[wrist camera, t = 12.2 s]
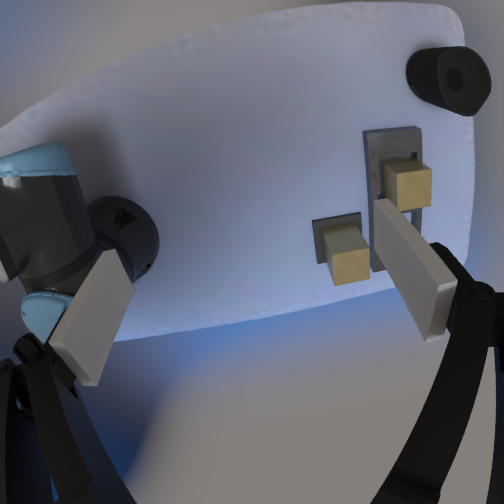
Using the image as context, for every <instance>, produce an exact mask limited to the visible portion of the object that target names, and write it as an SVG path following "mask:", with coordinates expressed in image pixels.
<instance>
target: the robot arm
mask: <svg viewBox="0 0 504 504" xmlns="http://www.w3.org/2000/svg"><path fill="white" fill-rule="evenodd" d="M76 175H77V172H76V171H75V170H74V168H73V165H72V162H71V160H70V157H69V154H68V151H67V149H66V147H65V146H64V145H63V144H62V143H60V142H56V141H52V142H47V143H44V144H40V145H37V146H34V147H30V148H27V149H24V150H21V151H18V152H15V153H12V154H9V155H7V156H4V157H1V158H0V282H3V283H8V282H10V281H11V280H12V279H14V278H15V277H16V276H18V277H19V279H20V280H21V282H22V284H23V286H24V288H25V290H26V292H27V295H26V296H25V297H24V299H23V300H22V305H21V315H22V318H23V321H24V323H25V324H26V326H27V327H28V329H29V330H30V331H31V332H32V333H28V334H25V335H23V336H22V337H21V338H19V339H18V340H17V342H16V343H15V345H14V347H13V352H14V354H15V355H16V356H17V357H18V359H19V360H20V361H21V362H22V364H19V365H16V364H15V363H14V362H13V361H12V360H11V359H10V358H7V359H4V360H3V361H1V362H0V504H137V503H136V502H135V500H134V499H133V497H132V495H131V494H130V492H129V490H128V489H127V487H126V486H125V484H124V482H123V480H122V479H121V477H120V475H119V474H118V472H117V470H116V468H115V466H114V465H113V463H112V461H111V459H110V457H109V455H108V453H107V451H106V449H105V447H104V446H103V444H102V442H101V440H100V437H99V436H98V434H97V431H96V429H95V427H94V425H93V423H92V420H91V419H90V416H89V414H88V412H87V409H86V407H85V405H84V402H83V400H82V397H81V395H80V393H79V390H78V388H77V387H76V385H74V381H75V379H76V378H77V379H78V380H79V381H80V382H81V383H82V384H83V385H84V386H97V384H98V381H99V379H100V376H101V373H102V370H103V367H104V365H105V362H106V360H107V357H108V354H109V352H110V349H111V346H112V344H113V341H114V339H115V336H116V334H117V331H118V329H119V326H120V324H121V321H122V319H123V316H124V314H125V312H126V309H127V307H128V305H129V302H130V300H131V297H132V295H133V293H134V291H135V290H134V288H133V286H132V284H133V283H134V282H135V281H137V280H138V279H139V278H141V277H142V276H143V275H144V274H146V273H147V272H148V271H149V269H150V268H151V267H152V265H153V263H154V261H155V258H156V256H157V254H158V250H159V236H158V232H157V229H156V227H155V224H154V223H153V221H152V219H151V218H150V216H149V215H148V214H147V213H146V212H145V211H144V210H143V209H142V208H141V207H139V206H138V205H137V204H135V203H133V202H131V201H129V200H127V199H124V198H120V197H103V198H100V199H97V200H95V201H93V202H92V203H91V204H89V205H88V206H87V207H86V204H85V201H84V198H83V195H82V191H81V188H80V185H79V182H78V179H77V176H76ZM373 206H374V250H375V251H376V253H377V255H378V256H379V258H380V260H381V261H382V263H383V265H384V267H385V268H386V270H387V272H388V273H389V275H390V277H391V279H392V280H393V282H394V284H395V286H396V288H397V289H398V291H399V293H400V295H401V297H402V298H403V300H404V302H405V304H406V306H407V308H408V309H409V311H410V313H411V315H412V317H413V319H414V321H415V323H416V324H417V327H418V328H419V330H420V333H421V335H422V337H423V338H424V341H425V343H428V342H431V341H435V340H438V339H441V338H443V336H444V332H445V329H446V327H447V329H448V331H449V333H450V334H451V335H450V338H449V341H448V344H447V348H446V350H445V353H444V356H443V359H442V362H441V364H440V367H439V370H438V372H437V375H436V378H435V380H434V383H433V385H432V388H431V390H430V392H429V395H428V397H427V400H426V402H425V404H424V406H423V409H422V411H421V413H420V415H419V417H418V420H417V422H416V424H415V426H414V428H413V430H412V432H411V434H410V436H409V438H408V440H407V442H406V444H405V446H404V448H403V450H402V451H401V453H400V455H399V457H398V459H397V461H396V462H395V464H394V466H393V468H392V470H391V471H390V473H389V475H388V476H387V478H386V480H385V481H384V483H383V484H382V486H381V488H380V489H379V491H378V492H377V494H376V496H375V497H374V498H373V500H372V502H371V503H370V504H438V502H439V498H440V490H441V487H442V485H443V483H444V481H445V479H446V476H447V474H448V472H449V470H450V468H451V465H452V463H453V461H454V458H455V456H456V453H457V451H458V448H459V446H460V443H461V441H462V438H463V435H464V433H465V430H466V427H467V424H468V421H469V418H470V415H471V412H472V409H473V406H474V402H475V399H476V395H477V392H478V388H479V385H480V381H481V377H482V373H483V369H484V365H485V361H486V356H487V351H488V347H494V355H495V373H496V424H495V440H494V452H493V462H492V470H491V477H490V484H489V490H488V496H487V501H486V504H504V292H502V293H501V292H498V293H497V292H495V291H494V289H493V288H492V287H491V286H490V285H488V284H486V283H483V282H479V281H474V279H473V278H472V277H471V276H470V274H469V273H468V272H467V271H466V269H465V268H464V267H463V266H462V265H461V263H460V262H458V260H457V259H456V258H455V256H453V254H452V253H451V252H450V251H449V249H448V248H447V247H445V246H443V245H441V244H440V243H438V242H435V243H431V244H428V243H427V241H426V240H425V239H424V238H423V237H422V236H421V234H420V233H419V232H418V231H417V230H416V229H415V228H414V226H413V225H412V224H411V223H410V222H409V221H408V220H407V218H406V217H405V216H404V215H403V214H402V213H401V212H400V211H399V210H398V209H397V208H396V206H395V205H394V204H393V203H392V202H391V201H390V200H389V199H388V198H385V199H379V200H373ZM37 338H38V339H39V340H41V341H42V342H43V343H45V344H44V346H43V345H42V344H41V343H40V341H39V340H38V339H37ZM16 401H17V402H18V403H19V404H20V405H21V408H20V409H18V407H17V404H16ZM50 475H51V478H52V480H53V483H54V486H55V489H56V491H57V494H58V497H59V499H58V501H56V502H54V500H53V494H52V487H51V479H50Z"/></svg>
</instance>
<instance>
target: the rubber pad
mask: <svg viewBox="0 0 504 504" xmlns="http://www.w3.org/2000/svg"><path fill="white" fill-rule="evenodd" d="M351 222H354V223H355V224H356V226H357V228H358V229H359V231H360V233H361V234H362V222H361V213H360V212H357V213H351V214H346V215H340V216H334V217H329V218H323V219H318V220H312V226H313V233H314V241H315V249H316V257H317V264H321V263H326V260H325V257H324V250H323V241H322V233H321V228H324V227H329V226H334V225H340V224H345V223H351Z"/></svg>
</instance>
